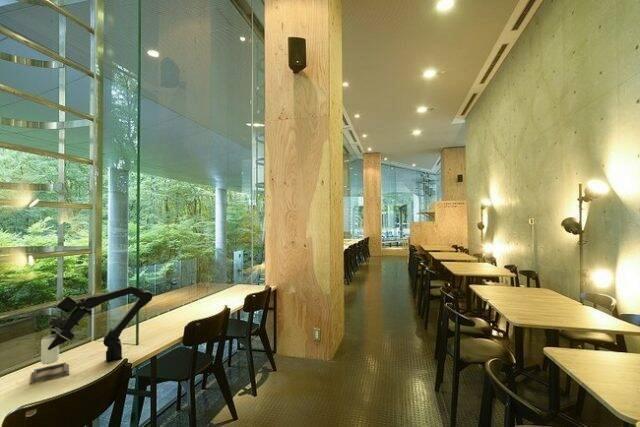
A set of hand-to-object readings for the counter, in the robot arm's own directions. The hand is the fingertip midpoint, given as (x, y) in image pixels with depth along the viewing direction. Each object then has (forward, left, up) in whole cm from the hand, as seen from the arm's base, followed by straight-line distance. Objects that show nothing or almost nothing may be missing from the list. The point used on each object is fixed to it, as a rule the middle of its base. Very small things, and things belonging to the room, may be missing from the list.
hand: (46, 348), depth 152 cm
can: (-1, 0, -7) cm, 7 cm away
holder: (-1, -1, -13) cm, 13 cm away
